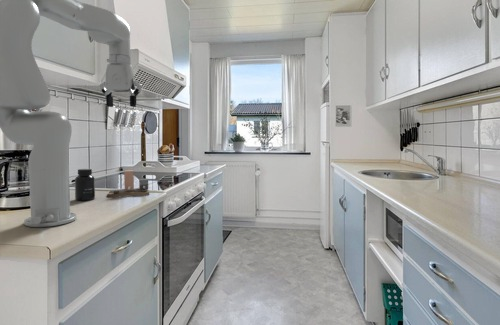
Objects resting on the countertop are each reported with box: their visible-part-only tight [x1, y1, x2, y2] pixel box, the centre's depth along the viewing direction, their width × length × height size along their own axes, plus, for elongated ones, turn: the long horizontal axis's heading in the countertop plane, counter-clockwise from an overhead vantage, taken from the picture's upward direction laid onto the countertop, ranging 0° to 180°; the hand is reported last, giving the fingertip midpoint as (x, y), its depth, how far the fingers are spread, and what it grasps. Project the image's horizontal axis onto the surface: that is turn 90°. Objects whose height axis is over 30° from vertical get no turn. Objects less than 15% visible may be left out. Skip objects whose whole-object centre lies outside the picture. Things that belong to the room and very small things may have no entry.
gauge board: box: [107, 178, 150, 198], centre depth 129 cm, size 9×16×6 cm, turn 112°
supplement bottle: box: [74, 168, 96, 202], centre depth 117 cm, size 7×7×12 cm
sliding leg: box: [123, 169, 135, 190], centre depth 128 cm, size 6×4×8 cm, turn 22°
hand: (121, 106), depth 116 cm, fingers open, 9 cm apart
